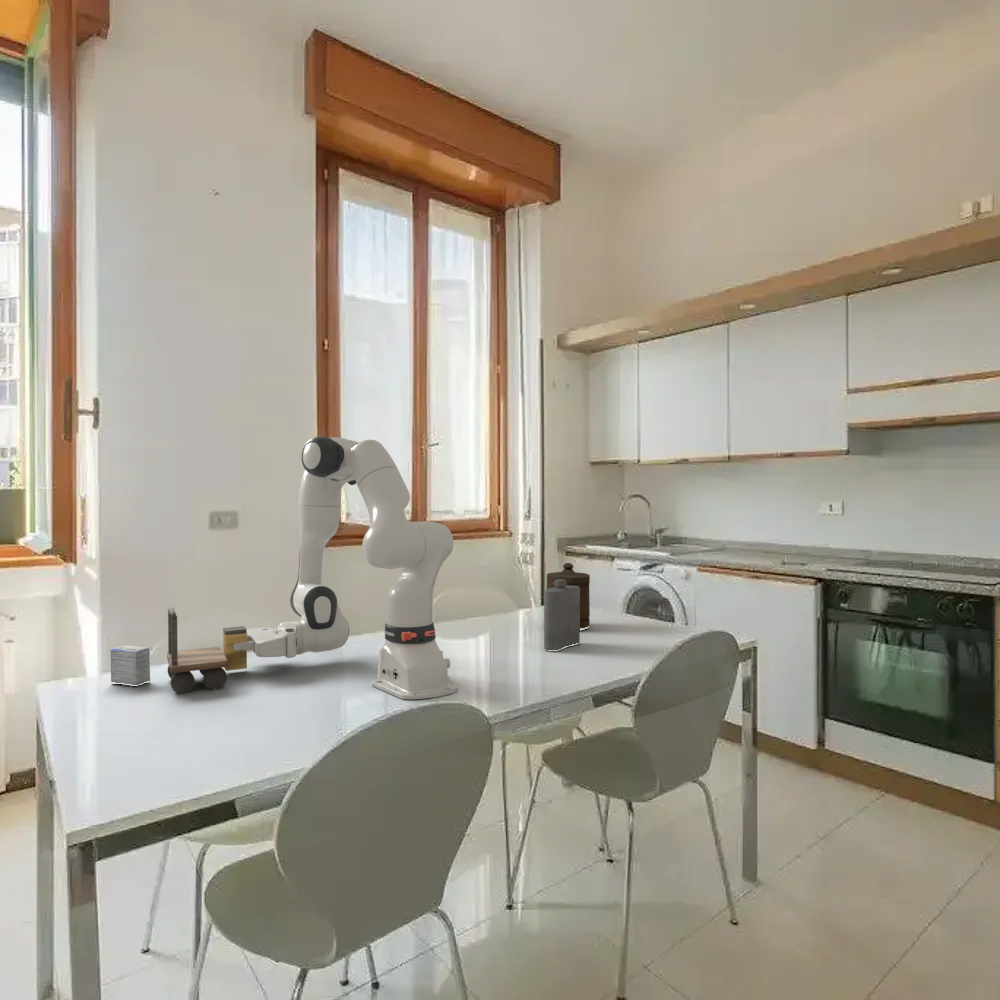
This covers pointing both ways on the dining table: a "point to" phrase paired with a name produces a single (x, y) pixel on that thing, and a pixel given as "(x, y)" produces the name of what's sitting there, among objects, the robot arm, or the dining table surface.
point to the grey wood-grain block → (130, 665)
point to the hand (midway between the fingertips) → (231, 644)
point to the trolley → (193, 662)
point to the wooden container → (574, 580)
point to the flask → (561, 616)
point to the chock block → (234, 657)
